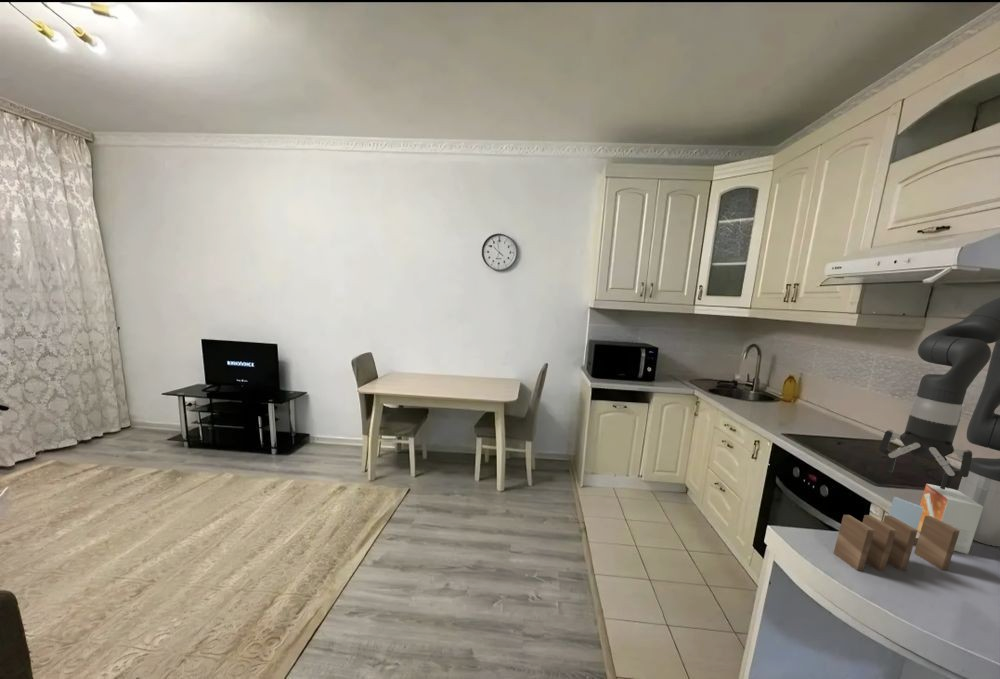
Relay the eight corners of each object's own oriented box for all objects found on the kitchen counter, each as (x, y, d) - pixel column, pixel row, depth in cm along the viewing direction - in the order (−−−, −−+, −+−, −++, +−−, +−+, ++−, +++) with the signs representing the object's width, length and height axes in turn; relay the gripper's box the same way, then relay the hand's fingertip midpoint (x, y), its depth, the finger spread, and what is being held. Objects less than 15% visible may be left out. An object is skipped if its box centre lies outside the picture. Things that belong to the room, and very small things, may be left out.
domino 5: (919, 553, 85) (930, 515, 83) (947, 569, 80) (959, 530, 78) (913, 553, 85) (925, 515, 83) (941, 569, 80) (953, 530, 78)
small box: (912, 526, 96) (925, 482, 94) (945, 535, 93) (959, 490, 91) (933, 545, 88) (947, 498, 86) (969, 555, 86) (985, 506, 84)
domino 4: (880, 553, 84) (890, 515, 82) (905, 570, 79) (917, 530, 77) (874, 553, 84) (884, 515, 82) (899, 570, 79) (911, 530, 77)
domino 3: (884, 531, 93) (894, 496, 91) (913, 543, 89) (923, 507, 87) (883, 533, 92) (893, 498, 90) (912, 545, 88) (923, 509, 86)
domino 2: (859, 553, 83) (870, 515, 82) (884, 570, 78) (896, 530, 77) (853, 553, 83) (864, 515, 81) (878, 570, 78) (890, 530, 76)
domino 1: (839, 553, 82) (849, 514, 81) (863, 570, 78) (874, 529, 76) (833, 553, 82) (843, 514, 81) (856, 570, 77) (867, 529, 76)
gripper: (888, 410, 88) (872, 469, 91) (982, 431, 77) (961, 499, 80) (892, 406, 93) (877, 463, 95) (982, 426, 82) (962, 490, 84)
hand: (915, 479), depth 87 cm, fingers open, 8 cm apart
